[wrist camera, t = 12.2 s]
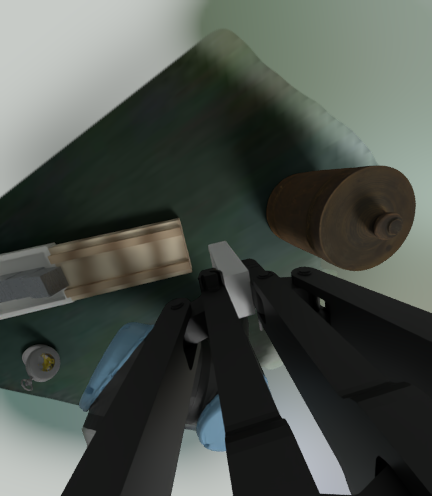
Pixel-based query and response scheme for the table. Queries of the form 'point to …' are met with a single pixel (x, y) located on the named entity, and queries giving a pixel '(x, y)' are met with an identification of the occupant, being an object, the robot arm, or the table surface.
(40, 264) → the tray
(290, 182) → the wooden container
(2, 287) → the grey cubic block
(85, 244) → the slot board
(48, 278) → the gray cube
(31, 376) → the pocket watch
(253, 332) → the table surface
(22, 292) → the grey square block
